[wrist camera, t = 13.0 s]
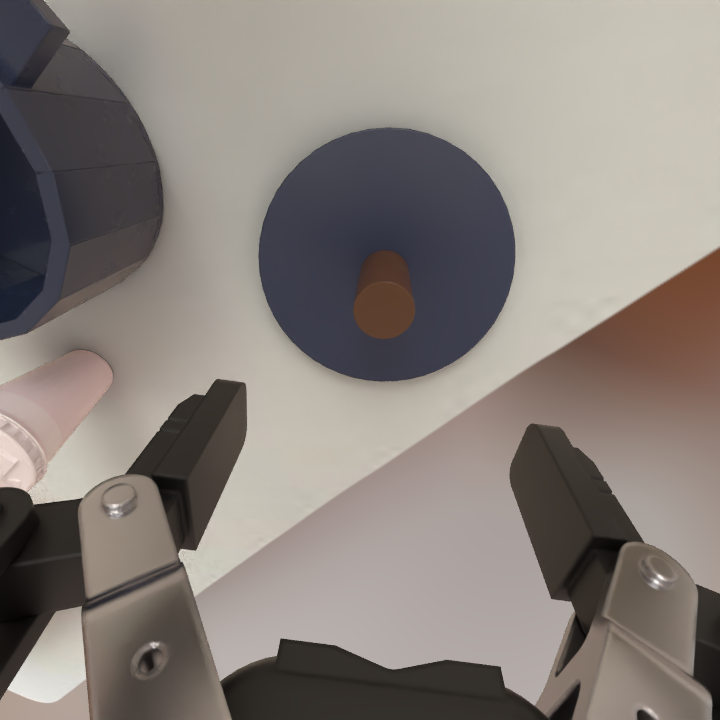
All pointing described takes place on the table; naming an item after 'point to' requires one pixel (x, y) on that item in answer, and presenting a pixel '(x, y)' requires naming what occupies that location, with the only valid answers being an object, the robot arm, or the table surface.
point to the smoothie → (46, 413)
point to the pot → (66, 174)
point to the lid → (387, 254)
